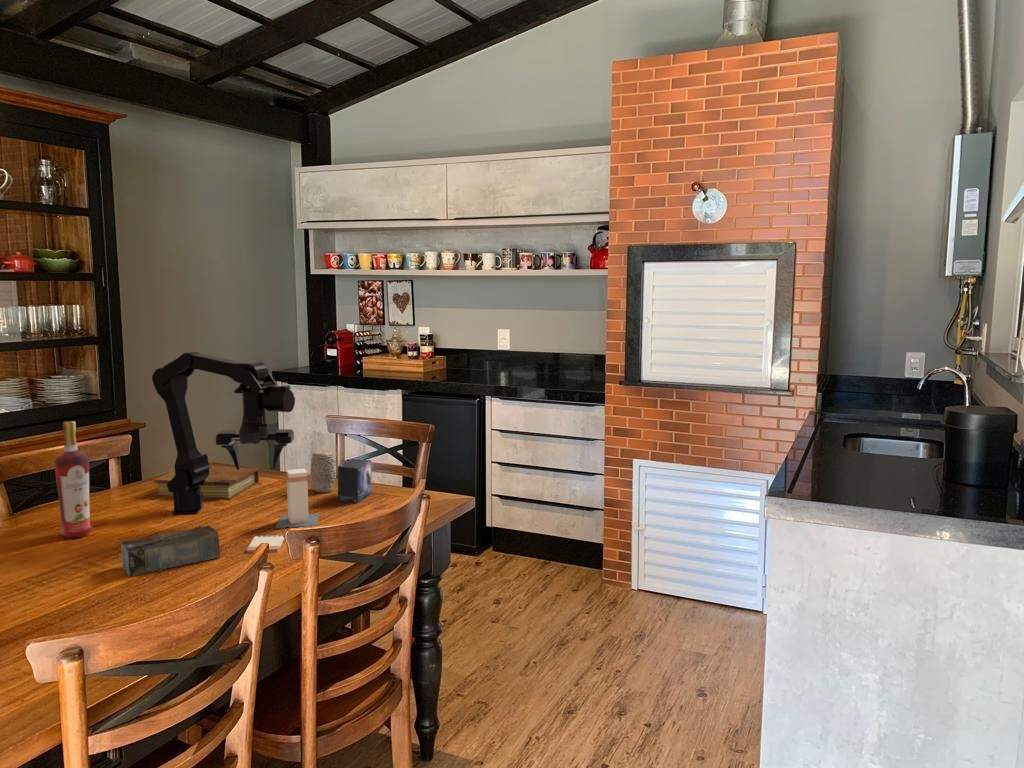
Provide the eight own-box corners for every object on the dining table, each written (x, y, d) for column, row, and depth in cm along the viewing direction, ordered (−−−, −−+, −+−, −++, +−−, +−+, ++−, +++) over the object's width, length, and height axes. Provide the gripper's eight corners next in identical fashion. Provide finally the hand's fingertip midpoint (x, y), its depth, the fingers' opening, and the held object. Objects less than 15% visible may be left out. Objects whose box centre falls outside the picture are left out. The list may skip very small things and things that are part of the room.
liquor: (88, 528, 191) (81, 418, 188) (97, 535, 186) (90, 422, 183) (55, 535, 186) (47, 422, 183) (64, 542, 181) (56, 426, 178)
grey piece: (120, 567, 166) (119, 538, 165) (211, 549, 178) (210, 522, 177) (128, 578, 160) (126, 548, 159) (222, 559, 171) (221, 531, 170)
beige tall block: (290, 523, 195) (288, 474, 193) (287, 518, 199) (286, 470, 197) (308, 521, 197) (307, 472, 195) (305, 516, 201) (304, 468, 199)
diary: (259, 485, 236) (259, 467, 235) (230, 502, 218) (229, 482, 217) (189, 482, 239) (188, 464, 238) (154, 498, 220) (154, 478, 220)
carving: (333, 493, 225) (332, 453, 223) (307, 493, 225) (306, 453, 223) (338, 488, 231) (337, 449, 229) (313, 487, 231) (312, 449, 229)
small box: (358, 504, 214) (357, 467, 213) (337, 502, 216) (336, 466, 214) (372, 494, 225) (372, 459, 223) (352, 492, 226) (351, 458, 225)
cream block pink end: (277, 551, 176) (277, 548, 175) (246, 553, 175) (245, 550, 175) (284, 537, 185) (284, 534, 185) (254, 538, 184) (254, 535, 184)
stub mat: (275, 528, 192) (275, 526, 192) (281, 516, 202) (281, 515, 202) (315, 527, 194) (315, 525, 194) (320, 515, 203) (320, 513, 203)
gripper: (208, 416, 189) (211, 477, 191) (286, 415, 191) (288, 475, 193) (219, 409, 200) (222, 467, 202) (293, 408, 202) (295, 465, 204)
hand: (256, 469), depth 200 cm, fingers open, 9 cm apart
